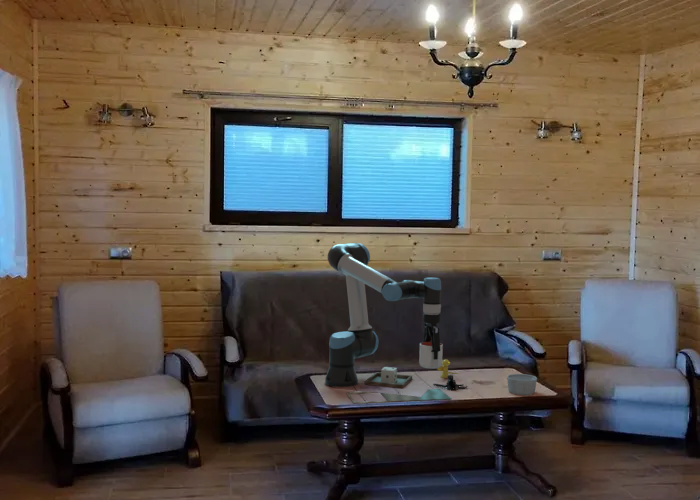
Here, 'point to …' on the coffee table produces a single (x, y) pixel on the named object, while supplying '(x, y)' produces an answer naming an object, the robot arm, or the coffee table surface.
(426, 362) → the cup
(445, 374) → the figurine
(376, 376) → the dice tray
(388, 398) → the track
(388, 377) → the die
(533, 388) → the ramekin
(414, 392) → the coffee table surface
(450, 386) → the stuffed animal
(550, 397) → the coffee table surface
